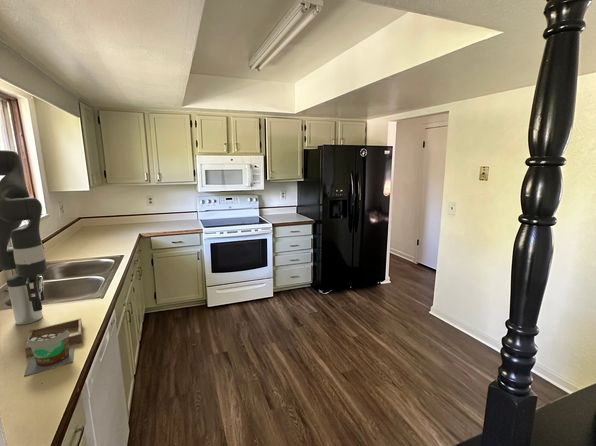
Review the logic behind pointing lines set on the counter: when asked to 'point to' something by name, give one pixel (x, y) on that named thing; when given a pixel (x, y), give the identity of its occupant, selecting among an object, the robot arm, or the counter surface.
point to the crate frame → (56, 329)
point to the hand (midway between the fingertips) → (39, 305)
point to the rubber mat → (34, 368)
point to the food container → (49, 348)
